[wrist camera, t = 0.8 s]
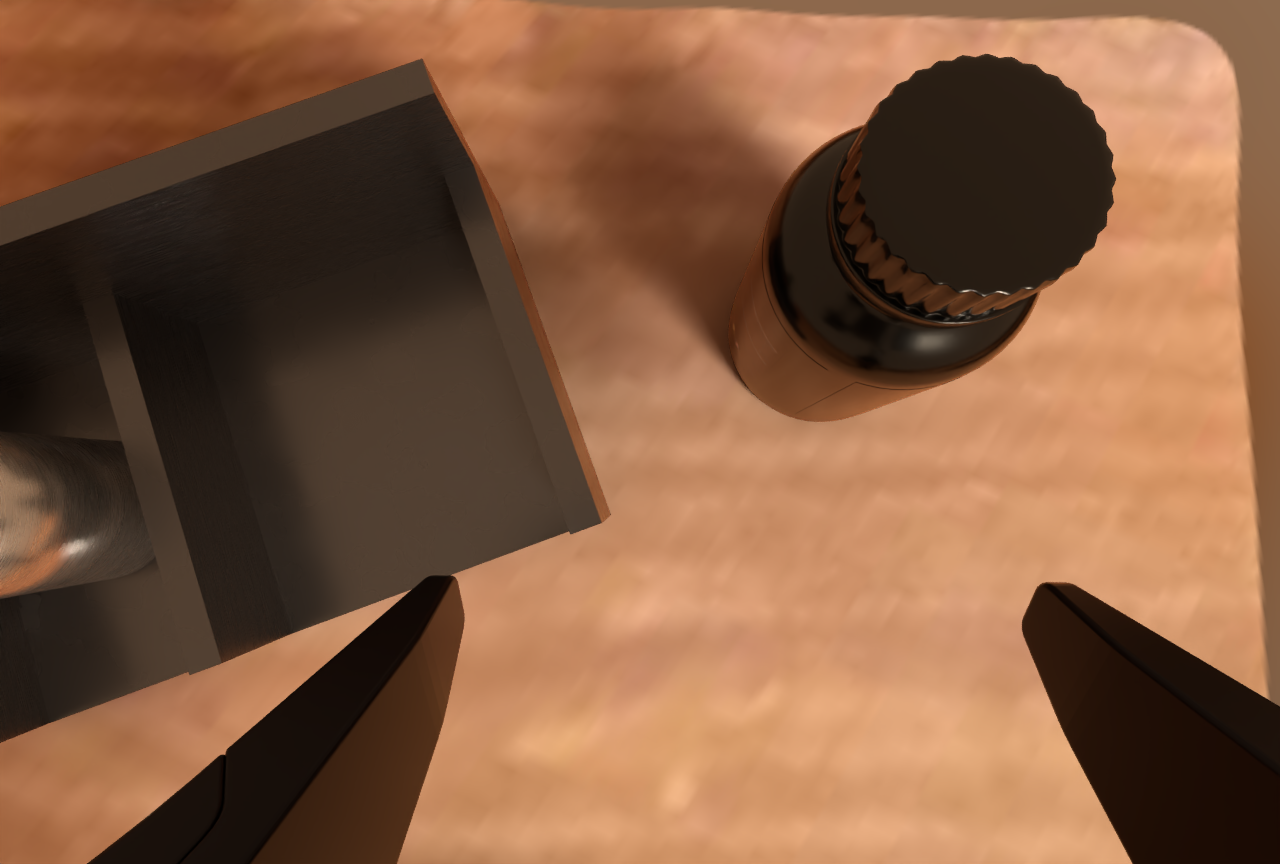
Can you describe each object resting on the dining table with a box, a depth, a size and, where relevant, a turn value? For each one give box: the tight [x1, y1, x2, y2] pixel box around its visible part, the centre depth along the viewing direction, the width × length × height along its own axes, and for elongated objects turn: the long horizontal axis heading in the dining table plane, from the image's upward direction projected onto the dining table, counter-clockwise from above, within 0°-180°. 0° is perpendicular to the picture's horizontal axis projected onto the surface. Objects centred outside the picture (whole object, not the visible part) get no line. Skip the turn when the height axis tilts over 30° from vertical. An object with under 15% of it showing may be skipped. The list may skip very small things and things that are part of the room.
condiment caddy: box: [0, 59, 611, 743], centre depth 19 cm, size 13×22×8 cm, turn 110°
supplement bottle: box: [728, 54, 1116, 422], centre depth 17 cm, size 7×7×12 cm
